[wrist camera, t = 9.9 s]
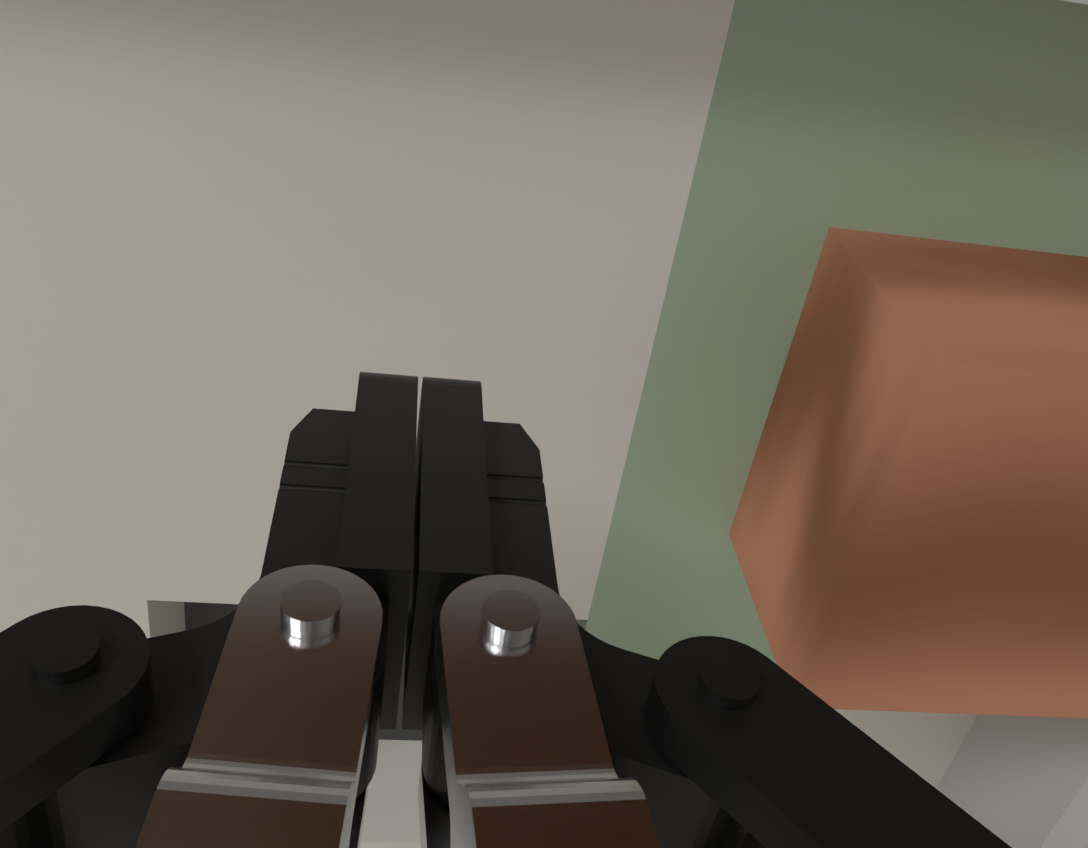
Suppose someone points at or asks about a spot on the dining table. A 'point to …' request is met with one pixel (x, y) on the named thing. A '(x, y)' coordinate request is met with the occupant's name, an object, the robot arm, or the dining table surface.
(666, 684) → the robot arm
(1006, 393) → the block
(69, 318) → the box
